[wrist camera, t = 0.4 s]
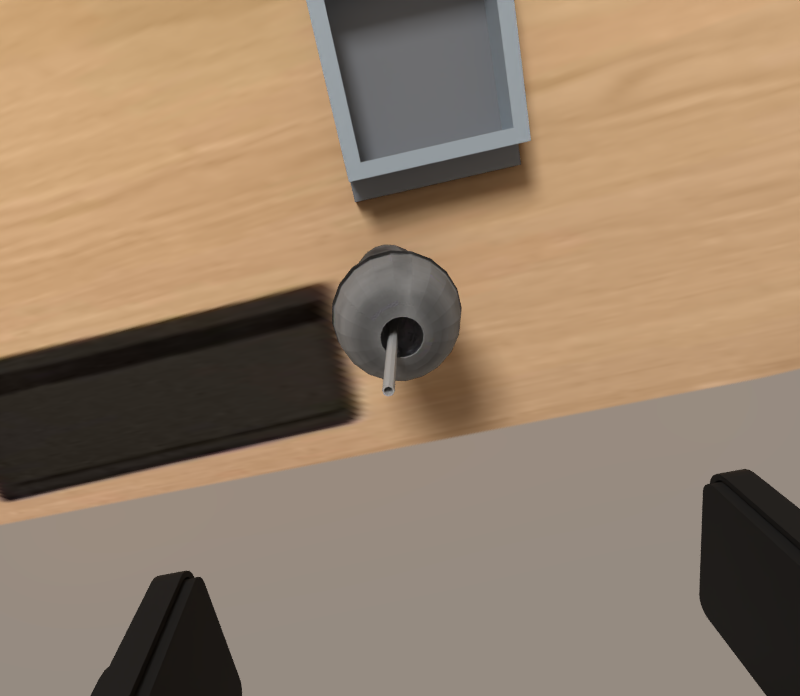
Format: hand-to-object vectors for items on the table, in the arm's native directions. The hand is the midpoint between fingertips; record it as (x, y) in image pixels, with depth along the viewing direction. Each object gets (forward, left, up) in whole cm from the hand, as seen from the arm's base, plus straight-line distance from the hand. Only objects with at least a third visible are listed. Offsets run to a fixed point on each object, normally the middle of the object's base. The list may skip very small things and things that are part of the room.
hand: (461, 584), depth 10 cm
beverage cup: (0, +1, -32) cm, 33 cm away
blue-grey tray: (-5, -13, -32) cm, 35 cm away
